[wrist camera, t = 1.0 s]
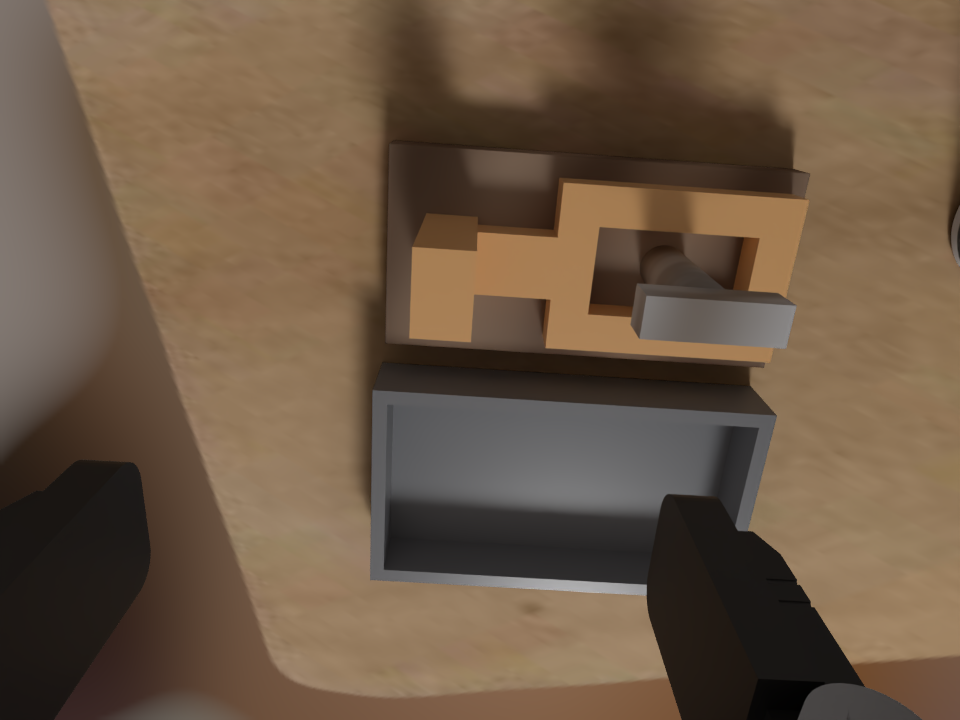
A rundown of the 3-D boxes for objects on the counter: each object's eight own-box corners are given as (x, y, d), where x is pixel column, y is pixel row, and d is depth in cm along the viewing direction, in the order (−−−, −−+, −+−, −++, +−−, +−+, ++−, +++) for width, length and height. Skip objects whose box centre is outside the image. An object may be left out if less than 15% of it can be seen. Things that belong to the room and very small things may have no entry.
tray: (750, 386, 31) (776, 415, 28) (710, 558, 35) (730, 600, 32) (382, 362, 31) (372, 390, 28) (379, 539, 34) (370, 579, 32)
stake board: (793, 169, 28) (916, 202, 20) (751, 354, 31) (843, 447, 23) (393, 140, 27) (358, 162, 19) (389, 331, 30) (358, 417, 22)
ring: (792, 194, 27) (875, 223, 21) (756, 349, 29) (822, 412, 23) (428, 168, 26) (414, 191, 21) (422, 327, 29) (407, 386, 23)
